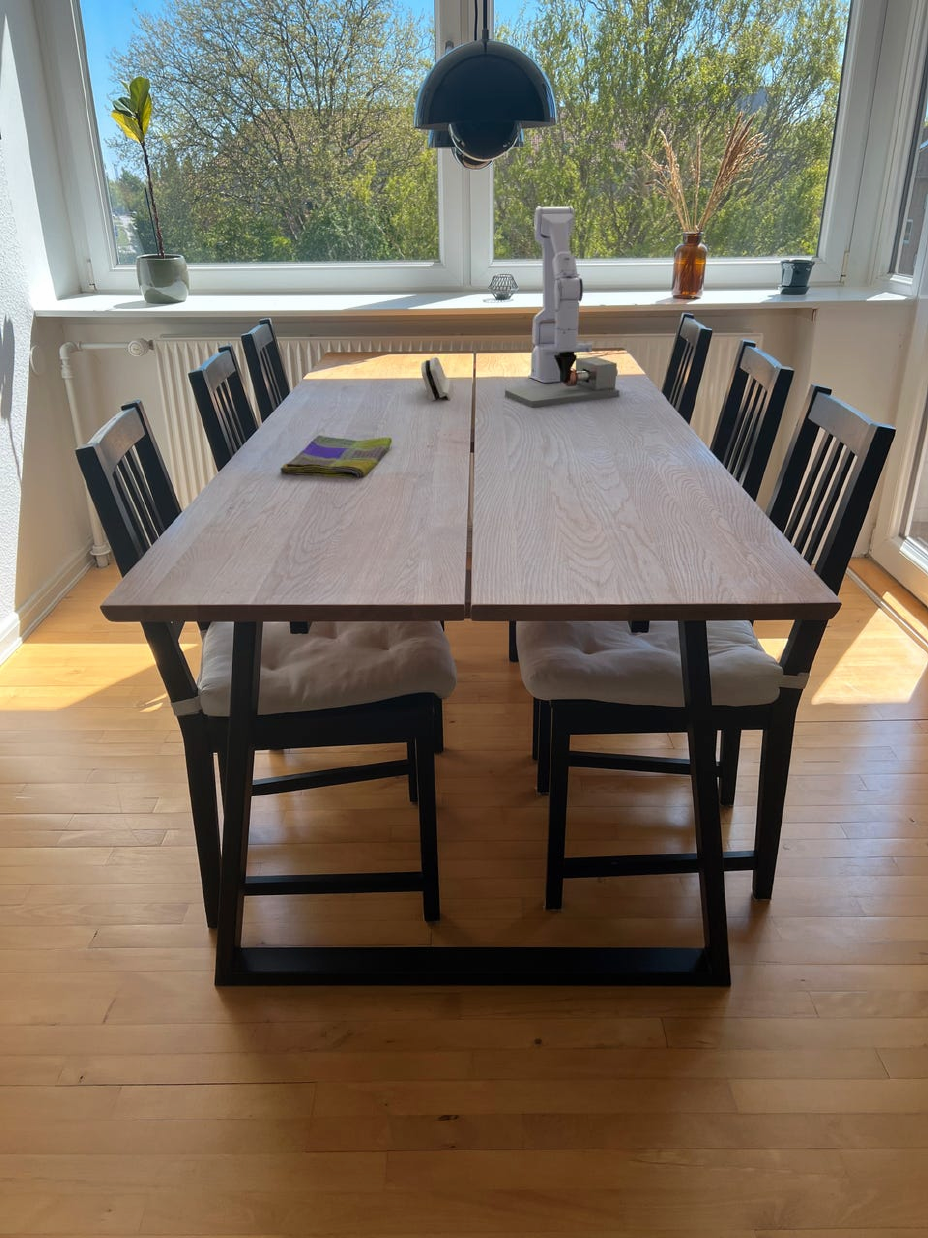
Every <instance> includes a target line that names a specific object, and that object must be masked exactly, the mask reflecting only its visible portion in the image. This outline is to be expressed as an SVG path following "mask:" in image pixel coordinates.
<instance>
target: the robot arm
mask: <svg viewBox="0 0 928 1238" xmlns="http://www.w3.org/2000/svg"><path fill="white" fill-rule="evenodd" d="M575 222H576V214H575V209H574V207H573V206H572V205H568V206H539V205H538V206H537V207H536V208H535V211H534V216H533V225H534V226H533V231H534V241H535V242H537V243H538V244H540V247H541V252H542V309H541V310H540V311H539V312H538V313H536V314H535V315H534V316H533V318H532V327H531V328H532V329H531V330H532V331H531V336H532V337H531V340H532V343H533V344H534V346H535V347H534V348H533V349H532V351H531V357H530V358H531V359H530V361H531V362H530V374H528V375H527V378H531V379H533V380H535V381H538V382H540V383H543V384H550V383H551V384H552V383H568V381H569V373H570V370H571V369H572V367H573V365H574V363H576V359H577V357H578V356H577V355H578V354H576V353H591V352H593V344H592V343H589V342H586V343H585V342H583V343H578V336H579V317H580V302H582V299H583V296H584V295H583V294H584V282H583V278H582V276H581V275H580V274H579V273H578V269H577V262H576V257H575V255H574V254H573V253H571V252H570V240H569V239H570V237H571V235H572V233H573V230H574V228H575Z"/></svg>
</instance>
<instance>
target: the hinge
mask: <svg viewBox="0 0 928 1238" xmlns="http://www.w3.org/2000/svg"><path fill="white" fill-rule="evenodd" d="M420 369H421V377H422V380H423V382H424V384H425V385H424V386H425V387H426V391H427V393H428V396H429V399H430V401H435V400H436V399H437V398H440V399H441V398H443V397H447V400H448V401H451V398H452V396H453V395H452V393H453V388H454V385H453V381H452V380H451V378H447V376H446V375H445V372H444V370H443V366H442V365H441V362H440V359H439V358H438V357H431V358H430V359H429V360H428V359H425V360H424V361H423V362H422V363H421V368H420Z"/></svg>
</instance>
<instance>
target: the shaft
mask: <svg viewBox="0 0 928 1238" xmlns="http://www.w3.org/2000/svg"><path fill="white" fill-rule="evenodd" d="M618 373H619V371H618V368H616V377H617V376H618ZM585 380H589V371H581V372H576V368H571V370H570V373H569V381H568V383H565V385H566V386H568V387H569V386H575V385H576V384H577V381H585Z"/></svg>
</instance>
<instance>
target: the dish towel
mask: <svg viewBox="0 0 928 1238" xmlns="http://www.w3.org/2000/svg"><path fill="white" fill-rule="evenodd" d="M392 441H393V439H392V438H391V437H379V438H372V439H370V438H369V439H365V440H354V439H353V440H352V439H347V438H337V437H330V436H324V435H321V434H320V435H317V436H316V437H315V438H314V439H313V440H312V441H311V442H310V443H309V444H308V445H307V446H306V447H305V448H304V449H303V450H302V451H300V452H299V453H298V454H297V455H296V456H295V457H294V458H293V459H292V460H290V461H289V462H288V463H285V464H283V466H282V467H281V468H280V472H282V473H286V474H294V473H302V474H301V475H307V474H313V475H312V476H321V475H323V476H324V477H325V476H326V477H331V478H333V477H335V478H343V479H344V478H345V479H361V478H365V476H366V475H368V474H369V473H370V472H371V471H372V470H374V468H375V467H376V466H377V465H378V464H379V462H380V461H382V459H383V457H384V456H385V455H386V453H387V452H388V450H389V448H390V446H391V444H392Z"/></svg>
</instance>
